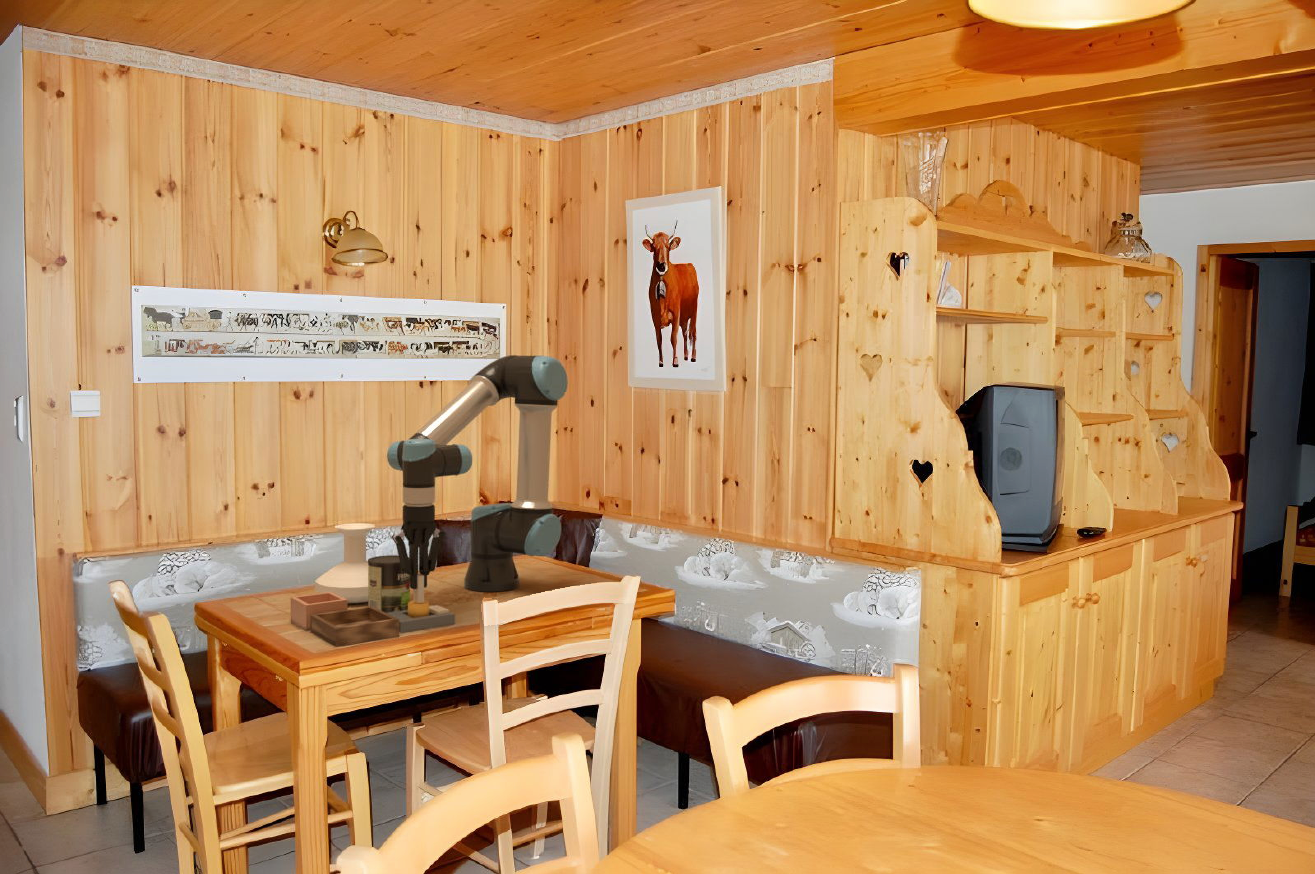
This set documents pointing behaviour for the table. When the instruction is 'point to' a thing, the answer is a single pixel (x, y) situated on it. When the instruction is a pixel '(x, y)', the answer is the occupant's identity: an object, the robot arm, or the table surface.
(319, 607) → the terracotta square planter
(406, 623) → the base
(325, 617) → the dark wooden tray
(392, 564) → the coffee can
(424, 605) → the button
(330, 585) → the candle holder
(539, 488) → the robot arm
